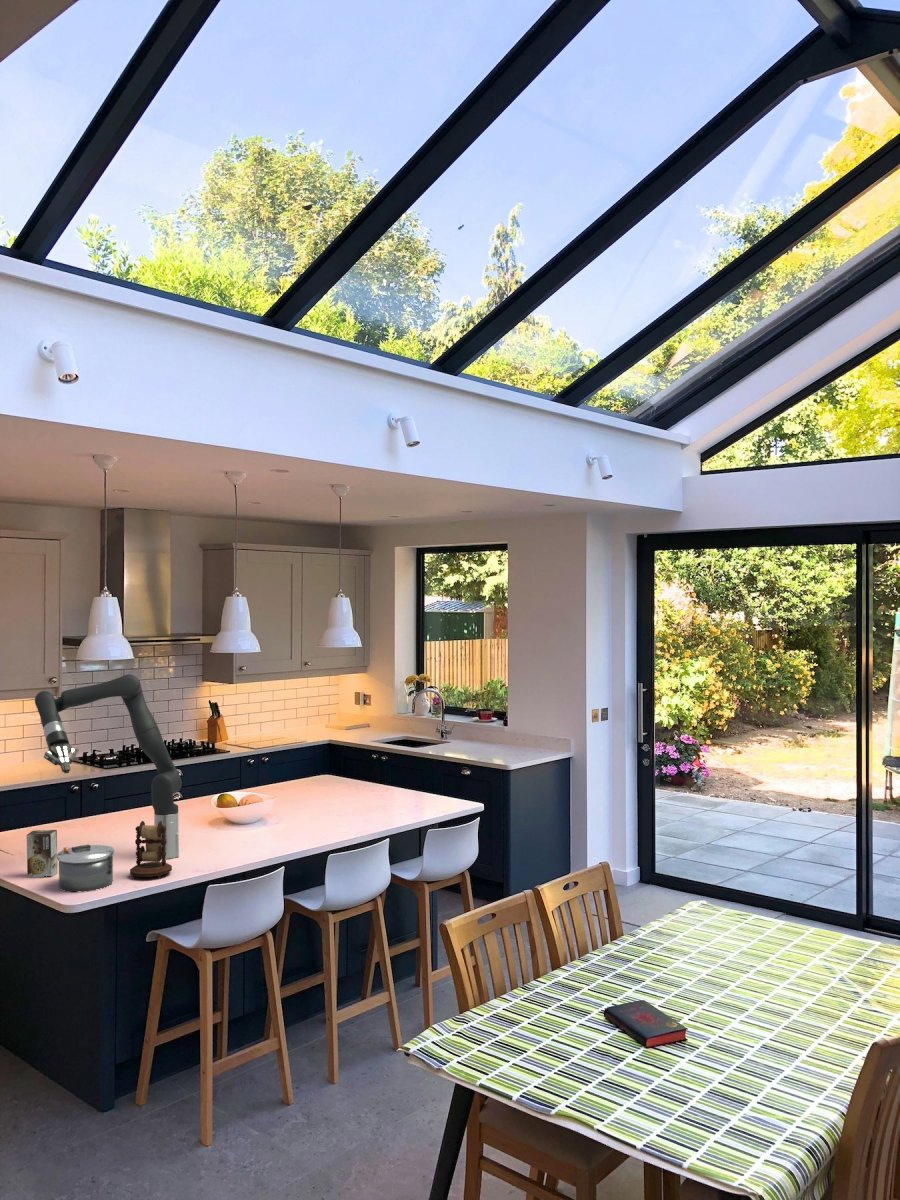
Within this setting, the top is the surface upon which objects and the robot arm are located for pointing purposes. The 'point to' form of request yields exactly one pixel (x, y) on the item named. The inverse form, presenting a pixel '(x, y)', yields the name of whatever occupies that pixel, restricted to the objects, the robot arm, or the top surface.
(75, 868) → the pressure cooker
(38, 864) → the coffee box
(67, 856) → the lid
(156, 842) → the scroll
